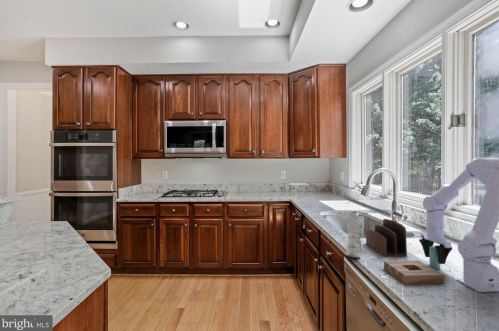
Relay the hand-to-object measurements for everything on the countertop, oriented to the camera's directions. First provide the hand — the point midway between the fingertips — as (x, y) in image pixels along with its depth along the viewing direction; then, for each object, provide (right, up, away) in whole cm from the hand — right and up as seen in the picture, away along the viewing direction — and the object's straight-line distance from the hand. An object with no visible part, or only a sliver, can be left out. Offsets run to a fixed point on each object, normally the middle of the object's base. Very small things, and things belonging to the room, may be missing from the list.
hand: (434, 260), depth 111 cm
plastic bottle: (-28, -3, +13) cm, 31 cm away
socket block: (-14, -3, -8) cm, 16 cm away
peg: (0, -3, 0) cm, 3 cm away
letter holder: (-9, -3, +23) cm, 25 cm away
